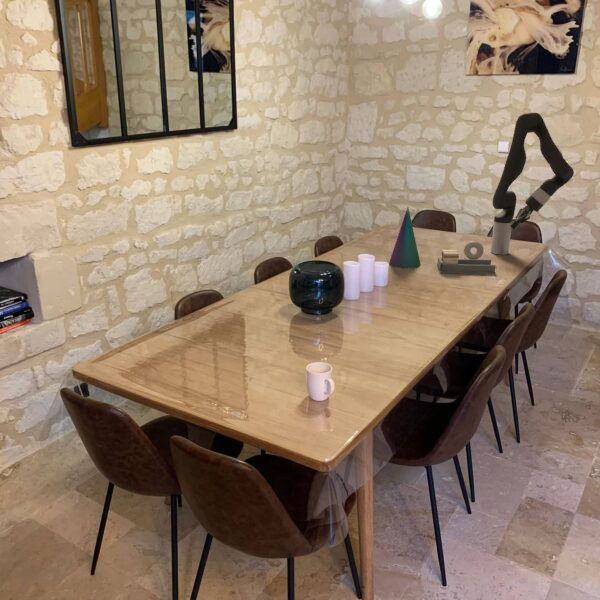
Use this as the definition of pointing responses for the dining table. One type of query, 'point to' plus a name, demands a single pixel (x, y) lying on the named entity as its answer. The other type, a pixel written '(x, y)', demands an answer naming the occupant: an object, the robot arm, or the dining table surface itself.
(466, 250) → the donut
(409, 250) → the decorative cone
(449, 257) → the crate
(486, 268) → the bay
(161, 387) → the dining table surface
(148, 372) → the dining table surface
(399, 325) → the dining table surface
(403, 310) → the dining table surface
